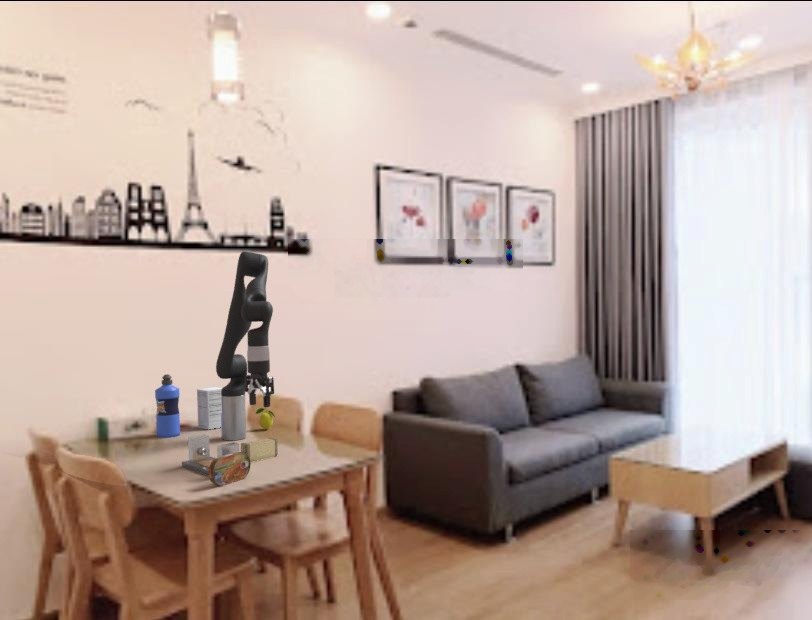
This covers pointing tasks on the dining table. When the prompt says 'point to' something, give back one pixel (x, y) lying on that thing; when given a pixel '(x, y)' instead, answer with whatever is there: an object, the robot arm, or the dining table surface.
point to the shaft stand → (205, 453)
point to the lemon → (265, 418)
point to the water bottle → (167, 409)
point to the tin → (229, 468)
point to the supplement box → (209, 407)
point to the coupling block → (260, 449)
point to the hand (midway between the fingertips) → (259, 405)
